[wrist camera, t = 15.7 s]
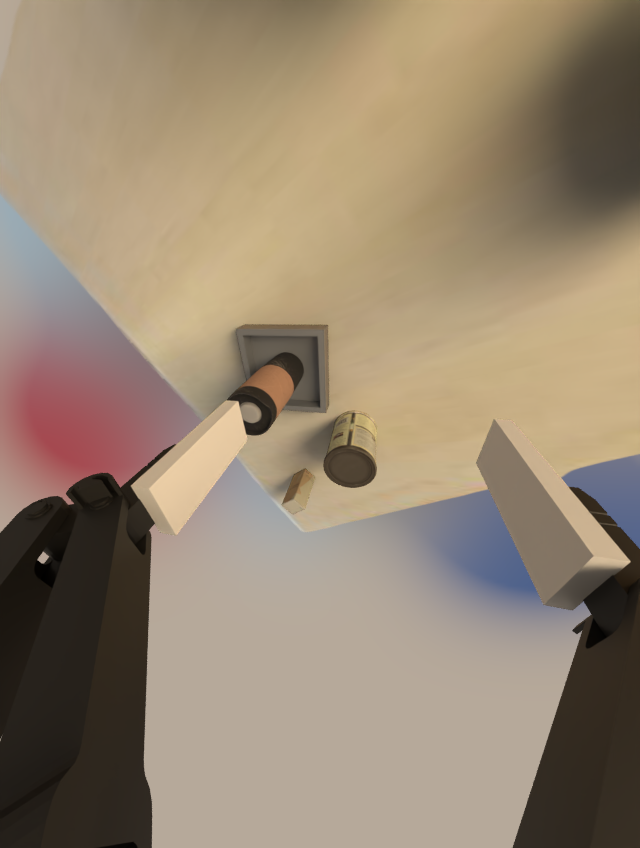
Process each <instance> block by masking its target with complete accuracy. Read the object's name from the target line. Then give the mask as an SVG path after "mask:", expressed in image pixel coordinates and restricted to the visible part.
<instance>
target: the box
mask: <svg viewBox="0 0 640 848" xmlns="http://www.w3.org/2000/svg"><path fill="white" fill-rule="evenodd" d="M314 480H315V477H314V476H313V475H312V474H311V473H310V472H308V471H307V470H306V469H304V470H302V471H300V472H298V473H297V474H295V475H294V476H293V479H292V481H291V484H290V486H289V488H288V491H287V493H286V496H285V498H284V500H283V503H282V506H283V507H284V508H285V509H286V510H288V511H289V512H290V513H291V514H295V513H297V512H300V511H302V510H304V509H305V508H306V505H307V501H308V498H309V495H310V492H311V489H312V486H313V483H314Z"/></svg>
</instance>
